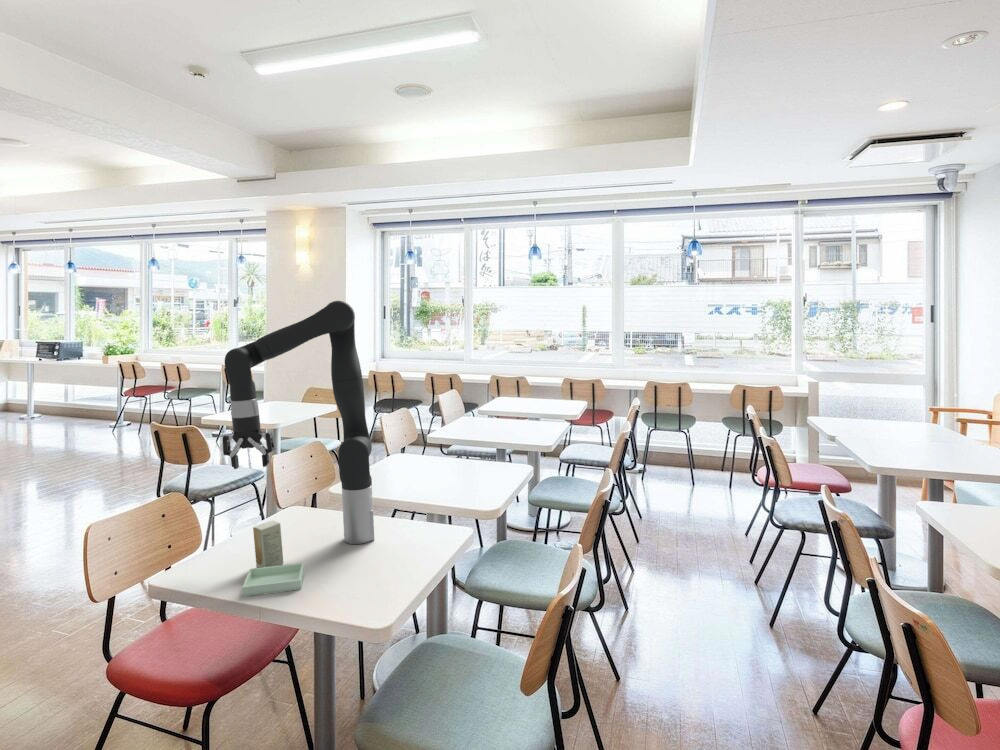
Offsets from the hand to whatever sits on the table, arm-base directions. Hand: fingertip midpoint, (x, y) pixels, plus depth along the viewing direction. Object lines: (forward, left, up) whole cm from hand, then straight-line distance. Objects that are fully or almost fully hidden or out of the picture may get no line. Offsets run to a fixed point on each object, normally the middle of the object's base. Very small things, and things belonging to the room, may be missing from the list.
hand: (250, 467), depth 172 cm
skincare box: (-6, +14, -26) cm, 30 cm away
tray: (-9, +26, -26) cm, 38 cm away
